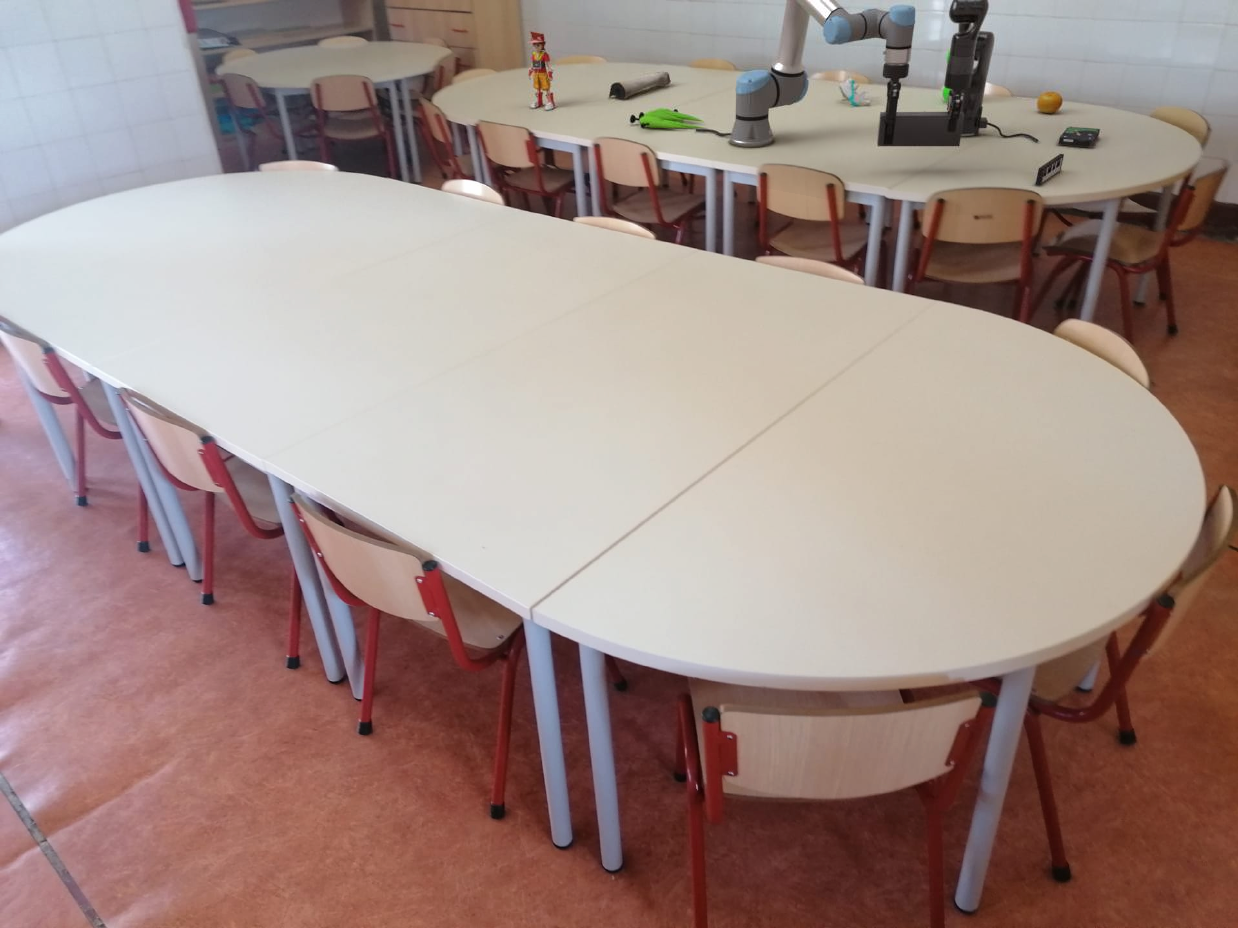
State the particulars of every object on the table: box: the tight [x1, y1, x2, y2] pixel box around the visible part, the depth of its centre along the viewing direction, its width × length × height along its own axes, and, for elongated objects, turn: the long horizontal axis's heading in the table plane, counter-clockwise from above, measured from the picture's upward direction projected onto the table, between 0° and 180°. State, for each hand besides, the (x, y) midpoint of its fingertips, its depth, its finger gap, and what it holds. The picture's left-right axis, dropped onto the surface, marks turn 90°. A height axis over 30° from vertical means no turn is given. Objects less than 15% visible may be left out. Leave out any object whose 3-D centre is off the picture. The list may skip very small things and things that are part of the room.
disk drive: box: [1057, 126, 1101, 148], centre depth 303 cm, size 10×3×15 cm
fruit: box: [1036, 91, 1064, 114], centre depth 334 cm, size 8×8×8 cm
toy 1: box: [527, 31, 556, 111], centre depth 374 cm, size 12×9×30 cm
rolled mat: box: [608, 71, 672, 101], centre depth 395 cm, size 30×9×10 cm
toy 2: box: [629, 107, 705, 129], centre depth 347 cm, size 28×5×30 cm
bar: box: [876, 111, 964, 147], centre depth 280 cm, size 25×4×9 cm, turn 78°
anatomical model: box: [838, 76, 872, 107], centre depth 360 cm, size 15×10×10 cm
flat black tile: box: [1035, 153, 1065, 186], centre depth 273 cm, size 18×1×5 cm, turn 138°
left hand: (887, 142), depth 284 cm, fingers closed on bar, 4 cm apart
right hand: (950, 129), depth 278 cm, fingers closed on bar, 4 cm apart
